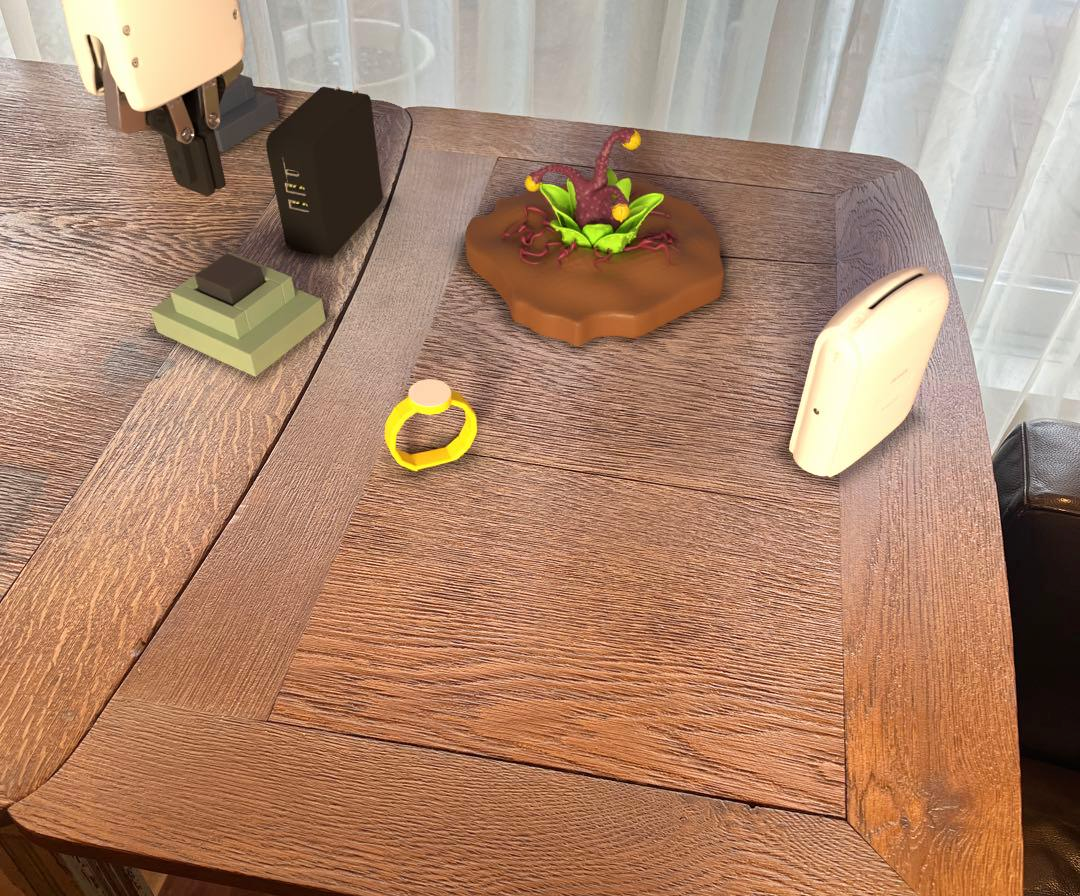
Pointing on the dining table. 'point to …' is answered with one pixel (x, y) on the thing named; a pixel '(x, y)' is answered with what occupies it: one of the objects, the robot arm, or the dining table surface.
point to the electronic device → (325, 170)
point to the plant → (596, 253)
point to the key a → (229, 279)
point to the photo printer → (867, 369)
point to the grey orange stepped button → (243, 112)
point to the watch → (430, 400)
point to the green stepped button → (241, 321)
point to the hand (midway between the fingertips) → (201, 185)
